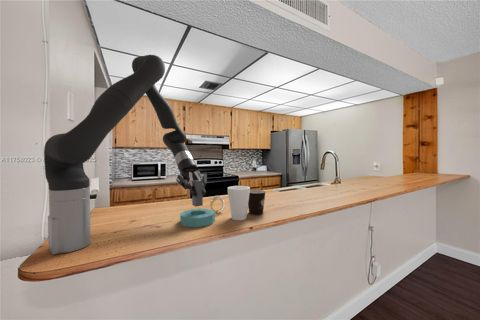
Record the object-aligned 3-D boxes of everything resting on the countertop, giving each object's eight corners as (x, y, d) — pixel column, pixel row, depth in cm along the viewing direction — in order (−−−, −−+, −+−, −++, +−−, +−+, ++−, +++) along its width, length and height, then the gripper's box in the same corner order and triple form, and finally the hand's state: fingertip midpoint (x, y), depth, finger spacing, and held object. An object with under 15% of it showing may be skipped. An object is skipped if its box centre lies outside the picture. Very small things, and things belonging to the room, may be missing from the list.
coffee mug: (253, 216, 89) (253, 193, 89) (243, 212, 96) (243, 190, 96) (274, 213, 94) (274, 191, 94) (263, 208, 102) (263, 188, 102)
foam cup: (254, 218, 87) (254, 187, 87) (238, 223, 81) (238, 190, 81) (239, 213, 94) (239, 185, 94) (223, 217, 88) (223, 187, 88)
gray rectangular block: (195, 206, 81) (195, 181, 80) (192, 205, 83) (192, 180, 83) (202, 205, 83) (202, 180, 82) (199, 204, 85) (198, 179, 85)
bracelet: (211, 214, 93) (211, 196, 93) (209, 212, 96) (209, 195, 95) (225, 212, 96) (225, 195, 96) (223, 210, 99) (223, 194, 98)
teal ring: (195, 229, 74) (194, 220, 74) (173, 222, 82) (173, 213, 82) (221, 220, 84) (221, 212, 84) (199, 214, 92) (199, 207, 92)
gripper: (172, 157, 83) (186, 191, 75) (202, 157, 93) (218, 187, 84) (167, 169, 88) (180, 203, 79) (197, 168, 97) (211, 198, 88)
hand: (200, 195), depth 81 cm, fingers closed on gray rectangular block, 3 cm apart
